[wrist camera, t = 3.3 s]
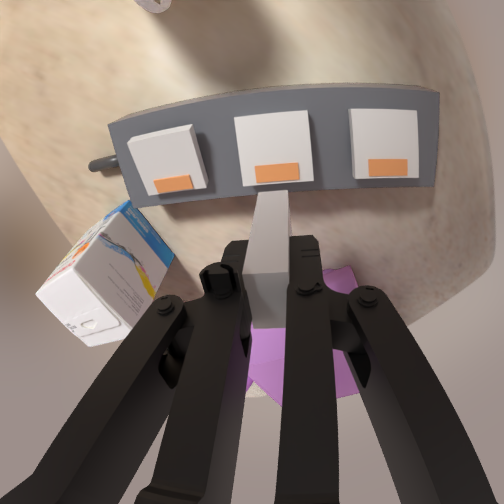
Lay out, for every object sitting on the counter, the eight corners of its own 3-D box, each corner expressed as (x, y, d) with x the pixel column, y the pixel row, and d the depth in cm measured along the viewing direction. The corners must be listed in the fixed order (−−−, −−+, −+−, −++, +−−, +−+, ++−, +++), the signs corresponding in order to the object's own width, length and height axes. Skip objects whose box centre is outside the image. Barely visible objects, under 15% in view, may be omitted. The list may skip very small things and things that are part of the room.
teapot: (369, 247, 30) (399, 343, 20) (387, 307, 35) (409, 393, 25) (210, 302, 37) (187, 390, 27) (249, 348, 42) (239, 427, 32)
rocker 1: (131, 137, 21) (126, 144, 20) (192, 124, 20) (188, 130, 19) (152, 188, 24) (148, 196, 23) (208, 180, 23) (206, 188, 23)
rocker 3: (348, 109, 19) (351, 108, 18) (411, 110, 18) (417, 110, 17) (352, 176, 21) (355, 179, 20) (413, 175, 20) (419, 178, 19)
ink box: (130, 196, 29) (71, 267, 20) (176, 256, 34) (140, 337, 24) (85, 229, 33) (31, 295, 23) (127, 279, 37) (89, 351, 27)
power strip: (83, 128, 25) (60, 141, 22) (418, 86, 20) (439, 92, 17) (106, 198, 30) (88, 217, 27) (416, 170, 25) (433, 188, 22)
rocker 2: (236, 117, 20) (233, 117, 19) (306, 110, 19) (307, 110, 18) (245, 183, 22) (242, 186, 21) (312, 178, 21) (313, 181, 20)
